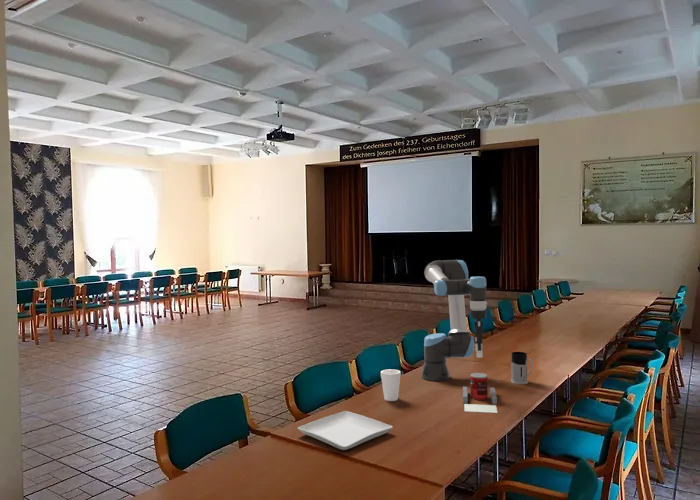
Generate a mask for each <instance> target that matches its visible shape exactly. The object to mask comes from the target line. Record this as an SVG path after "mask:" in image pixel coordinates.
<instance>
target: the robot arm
mask: <svg viewBox="0 0 700 500" xmlns="http://www.w3.org/2000/svg"><path fill="white" fill-rule="evenodd" d="M423 274H424V278H425V279H426V280H427V281H428V282H430V283H432V284H433V291H434V294H435V295H436V296H443V297H444V296H448V297H447V298H448V311H449V324H450V330H449V332H448V336H447V335H446V334H445V333H443V332H441V333H440V332H439V333H432V334H427V335H426V336H425V337H424V339H423V341H424V343H423V346H424V347H423V348H424V349H423V351H424V354H423V355H424V363H423V366H422V370H421V378H422V379H424V380H427V381H432V382H433V381H435V382H438V381H439V382H440V381H441V382H442V381H446V380H449V379H450V372H449V368H448V365H447V359H454V358H458V359H459V358H462V359H464V358H470V357H471V356H472V355H473V354H474V350H475V352H476V358H480V359H481V358H483V357H484V355H483V354H484V353H483V330H484V328H483V326H484V322H483V321H482V319H486V318H487V315H488V314H487V312H488V311H487V310H486V309H487V305H488V304H489V303H488V302H487V278H486V277H485V276H479V275H478V276H471V277H470V278H469V270H468V266H467V263H466V262H465V261H464V260H462V259H461V260H460V259H446V260H444V259H443V260H440V259H438V260H434V261H431V262H429V263H428V264H427V265H426V266H425V268H424V272H423ZM467 295H468V296H469V309H470V310H469V311H470V313H469V316H470V318H471V319H474V321H473V323H474V324H473V325H474V332H475V333H474V334H475V335H474V336H475V337H474V336H473V335H471V331H469V330H468V329H467V317H466V307H465V305H466V303H465V296H467ZM474 348H475V349H474Z"/></svg>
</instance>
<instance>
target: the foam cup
mask: <svg viewBox="0 0 700 500" xmlns="http://www.w3.org/2000/svg"><path fill="white" fill-rule="evenodd" d="M401 377H402V375H401V370H399V369H391V368H389V369H383V370H381V371H380V378H381V385H382V392H383V397H384V401H387V402H394V401H398V399H399V392H400V382H401Z"/></svg>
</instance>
